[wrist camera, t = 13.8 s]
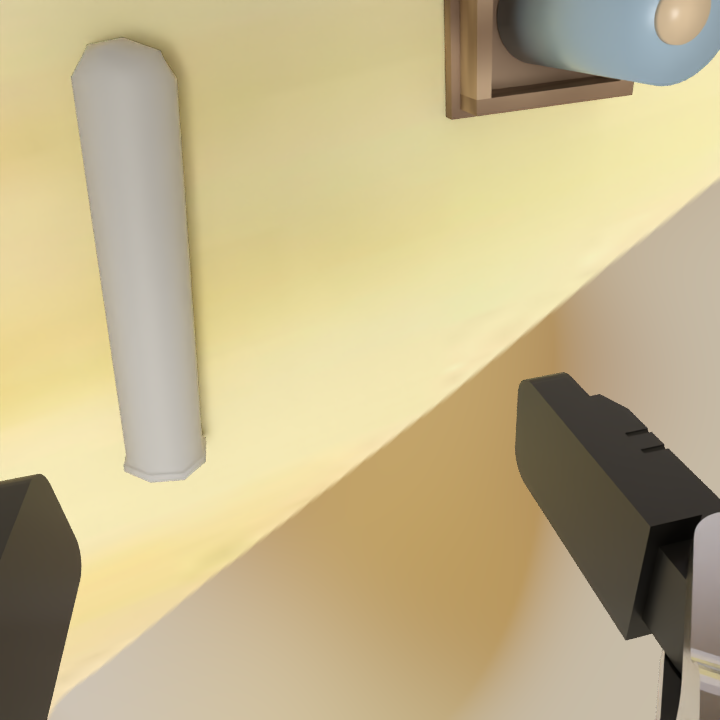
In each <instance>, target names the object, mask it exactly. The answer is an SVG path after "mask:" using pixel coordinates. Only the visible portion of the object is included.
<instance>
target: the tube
mask: <svg viewBox="0 0 720 720" xmlns="http://www.w3.org/2000/svg"><path fill="white" fill-rule="evenodd" d="M71 80H72V87H73V94H74V101H75V107H76V114H77V121H78V128H79V135H80V142H81V148H82V155H83V162H84V169H85V176H86V183H87V190H88V196H89V203H90V210H91V217H92V224H93V231H94V237H95V244H96V251H97V258H98V265H99V272H100V279H101V285H102V292H103V299H104V306H105V313H106V320H107V326H108V333H109V340H110V347H111V354H112V361H113V368H114V374H115V381H116V388H117V395H118V402H119V409H120V415H121V422H122V429H123V436H124V443H125V450H126V458H125V462H124V471H125V472H127V473H129V474H132V475H134V476H137V477H139V478H141V479H144V480H146V481H148V482H163V481H177V480H185V479H186V478H187V477H188V476H189V475H191V474H192V473H193V472H194V471H195V470H196V469H198V468H199V467H200V466H201V465H202V464H203V463H205V462H206V437H203V436H202V427H201V413H200V399H199V384H198V370H197V356H196V342H195V327H194V313H193V299H192V285H191V270H190V256H189V242H188V228H187V213H186V199H185V185H184V171H183V156H182V142H181V128H180V114H179V99H178V85H177V77H176V76H175V74H174V73H173V71H172V70H171V68H170V67H169V65H168V64H167V62H166V61H165V59H164V58H163V56H162V53H161V51H160V50H157V49H154V48H152V47H149V46H146V45H143V44H140V43H137V42H135V41H132V40H129V39H126V38H123V37H121V38H116V39H111V40H106V41H102V42H97V43H92V44H87V46H86V48H85V50H84V53H83V55H82V57H81V59H80V61H79V63H78V65H77V66H76V68H75V70H74V72H73V74H72V76H71Z"/></svg>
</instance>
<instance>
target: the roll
mask: <svg viewBox="0 0 720 720" xmlns="http://www.w3.org/2000/svg"><path fill="white" fill-rule="evenodd" d="M497 22H498V30H499V34H500V37H501V40H502V42H503V44H504V46H505V47H506V49H507V50H508V51H509V53H510V54H511V55H512V56H514V57H515V58H516V59H518V60H520V61H522V62H525V63H529V64H535V65H540V66H546V67H552V68H558V69H563V70H569V71H575V72H581V73H586V74H592V75H598V76H604V77H609V78H615V79H621V80H627V81H632V82H638V83H644V84H650V85H655V86H668V85H673V84H677V83H680V82H682V81H684V80H687V79H688V78H690V77H692V76H693V75H695V74H696V73H698V72H699V71H700V70H701V69H703V68H704V67H705V66H706V65H707V64H708V63H709V62H710V61H711V60H712V58H713V57H714V56H715V55H716V54H717V52H718V51H719V50H720V0H499V5H498V13H497Z"/></svg>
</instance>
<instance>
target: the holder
mask: <svg viewBox="0 0 720 720" xmlns="http://www.w3.org/2000/svg"><path fill="white" fill-rule="evenodd" d="M498 5H499V0H444V15H445V71H446V117H448V118H450V119H460V118H467V117H474V116H482V115H489V114H496V113H504V112H511V111H518V110H525V109H533V108H540V107H547V106H554V105H562V104H569V103H576V102H583V101H590V100H598V99H605V98H612V97H619V96H627V95H632V92H633V84H634V82H632V81H627V80H621V79H615V78H609V77H604V76H598V75H592V74H586V73H581V72H575V71H569V70H563V69H558V68H552V67H546V66H540V65H535V64H529V63H525V62H522V61H520V60H518V59H516V58H515V57H514V56H512V55H511V54H510V53H509V51H508V50H507V49H506V47H505V46H504V44H503V42H502V40H501V37H500V34H499V30H498V22H497V13H498Z"/></svg>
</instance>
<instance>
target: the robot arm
mask: <svg viewBox="0 0 720 720" xmlns="http://www.w3.org/2000/svg"><path fill="white" fill-rule="evenodd" d="M515 454H516V461H517V465H518V469H519V472H520V474H521V477H522V479H523V481H524V483H525V484H526V486H527V488H528V489H529V491H530V492H531V494H532V496H533V497H534V499H535V500H536V502H537V503H538V505H539V506H540V508H541V509H542V511H543V513H544V514H545V516H546V517H547V519H548V520H549V522H550V524H551V525H552V527H553V528H554V530H555V531H556V533H557V534H558V536H559V537H560V539H561V541H562V542H563V544H564V545H565V547H566V548H567V550H568V551H569V553H570V554H571V556H572V558H573V559H574V561H575V562H576V564H577V566H578V567H579V569H580V570H581V572H582V573H583V575H584V576H585V578H586V579H587V581H588V583H589V584H590V586H591V587H592V589H593V590H594V592H595V593H596V595H597V597H598V598H599V600H600V601H601V603H602V604H603V606H604V607H605V609H606V610H607V612H608V614H609V615H610V617H611V618H612V620H613V621H614V623H615V624H616V626H617V628H618V629H619V631H620V632H621V634H622V635H623V637H624V638H625V640H629V639H633V638H637V637H641V636H645V635H648V634H653V635H654V637H655V638H656V640H657V641H658V643H659V644H660V645H661V647H662V648H663V650H662V654H661V658H660V666H659V680H658V695H657V707H656V720H720V499H719V498H718V497H717V496H716V495H715V494H714V493H713V492H712V491H711V490H710V489H709V488H708V487H707V486H706V485H705V484H704V483H703V482H702V481H701V480H700V479H699V478H698V477H697V476H696V475H695V474H694V473H693V472H692V471H691V470H690V469H689V468H687V466H685V464H684V463H683V462H682V461H680V459H678V457H676V456H675V455H674V454H673V453H672V452H671V451H670V450H669V449H665V447H664V444H663V443H662V442H661V441H660V440H659V439H658V438H657V437H656V436H655V435H654V434H653V433H652V432H650V433H649V432H648V428H647V427H646V426H645V425H644V424H643V423H642V422H641V421H640V420H639V419H638V418H637V417H636V416H635V415H634V414H633V413H632V412H631V411H630V410H629V409H627V408H625V407H624V406H622V405H620V404H618V403H616V402H614V401H612V400H610V399H608V398H606V397H604V396H602V395H600V394H598V395H594V396H589V395H588V394H587V393H586V392H585V391H584V390H583V389H582V388H581V387H580V386H579V384H577V382H576V381H575V380H574V379H573V378H572V377H571V376H570V375H569V374H567V373H564V372H563V373H557V374H552V375H547V376H542V377H536V378H531V379H526V380H523V381H521V383H520V385H519V389H518V403H517V423H516V442H515ZM80 577H81V556H80V550H79V546H78V542H77V540H76V537H75V535H74V533H73V531H72V529H71V527H70V525H69V523H68V521H67V519H66V516H65V514H64V512H63V510H62V508H61V506H60V504H59V502H58V500H57V498H56V495H55V493H54V491H53V489H52V487H51V485H50V483H49V481H48V480H47V478H46V477H45V476H43V475H42V474H36V475H31V476H25V477H20V478H15V479H10V480H5V481H0V720H47V717H48V713H49V709H50V704H51V700H52V696H53V692H54V688H55V683H56V679H57V675H58V671H59V666H60V662H61V658H62V654H63V650H64V645H65V641H66V637H67V633H68V629H69V624H70V620H71V616H72V612H73V607H74V603H75V599H76V595H77V591H78V586H79V582H80Z"/></svg>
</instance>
